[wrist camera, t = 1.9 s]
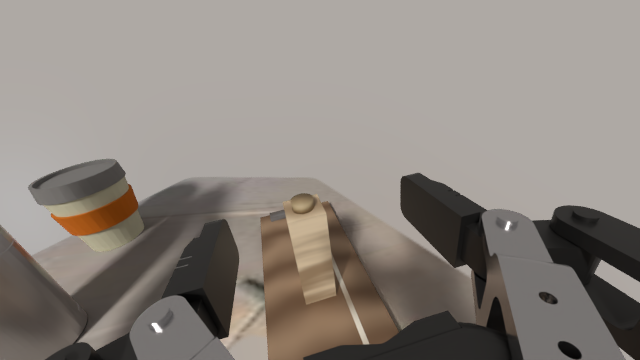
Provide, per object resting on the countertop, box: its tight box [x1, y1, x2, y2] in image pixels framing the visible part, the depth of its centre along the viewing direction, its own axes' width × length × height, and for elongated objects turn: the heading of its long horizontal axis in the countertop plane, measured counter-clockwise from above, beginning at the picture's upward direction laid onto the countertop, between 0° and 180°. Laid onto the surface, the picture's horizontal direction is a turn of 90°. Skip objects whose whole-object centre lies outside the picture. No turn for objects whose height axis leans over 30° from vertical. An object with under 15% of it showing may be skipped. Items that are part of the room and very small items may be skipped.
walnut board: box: [261, 201, 399, 360], centre depth 35 cm, size 30×14×2 cm, turn 15°
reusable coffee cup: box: [28, 159, 144, 252], centre depth 46 cm, size 12×13×15 cm
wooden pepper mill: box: [283, 193, 336, 305], centre depth 28 cm, size 4×4×14 cm
